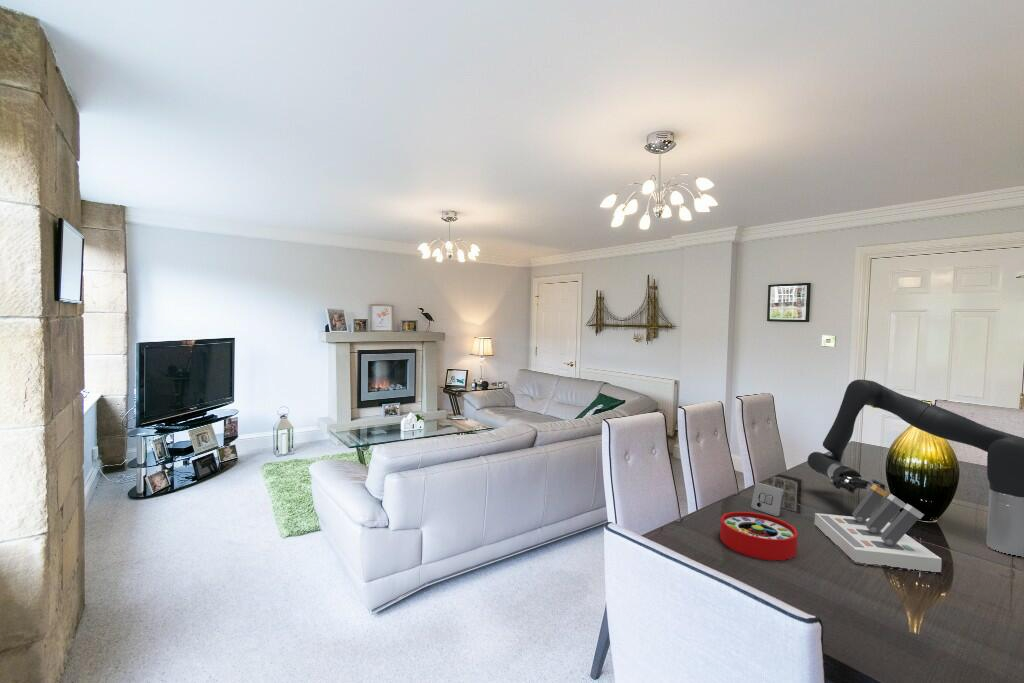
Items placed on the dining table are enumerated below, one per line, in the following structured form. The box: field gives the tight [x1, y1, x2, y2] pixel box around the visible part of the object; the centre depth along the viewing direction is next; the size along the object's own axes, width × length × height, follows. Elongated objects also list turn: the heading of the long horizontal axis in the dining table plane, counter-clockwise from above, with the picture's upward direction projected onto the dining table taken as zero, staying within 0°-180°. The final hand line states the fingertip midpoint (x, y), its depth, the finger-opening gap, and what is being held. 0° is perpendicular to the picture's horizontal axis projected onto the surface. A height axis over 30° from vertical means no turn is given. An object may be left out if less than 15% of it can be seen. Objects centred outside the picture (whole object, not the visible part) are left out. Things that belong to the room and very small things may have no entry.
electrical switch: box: [750, 482, 785, 517], centre depth 164 cm, size 9×5×9 cm, turn 35°
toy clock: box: [719, 511, 798, 562], centre depth 138 cm, size 20×6×20 cm
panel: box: [814, 512, 942, 573], centre depth 138 cm, size 20×26×4 cm
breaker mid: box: [866, 493, 907, 533], centre depth 137 cm, size 3×3×12 cm
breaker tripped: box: [851, 484, 889, 522], centre depth 145 cm, size 3×3×12 cm
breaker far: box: [880, 503, 925, 545], centre depth 129 cm, size 3×3×12 cm
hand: (868, 491), depth 151 cm, fingers open, 8 cm apart
